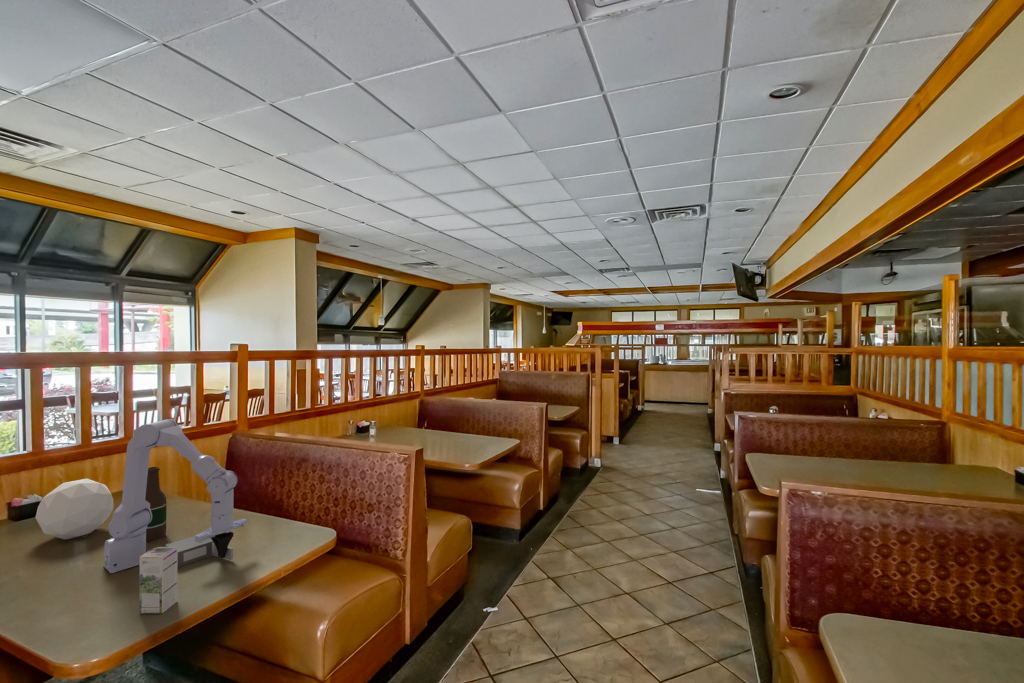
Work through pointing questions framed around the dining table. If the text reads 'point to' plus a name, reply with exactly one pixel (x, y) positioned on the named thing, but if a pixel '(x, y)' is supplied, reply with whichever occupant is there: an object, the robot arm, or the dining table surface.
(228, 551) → the side door
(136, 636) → the dining table surface
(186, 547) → the camera body
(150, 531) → the beer bottle
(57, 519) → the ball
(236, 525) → the robot arm
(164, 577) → the syrup box
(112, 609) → the dining table surface
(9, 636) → the dining table surface
